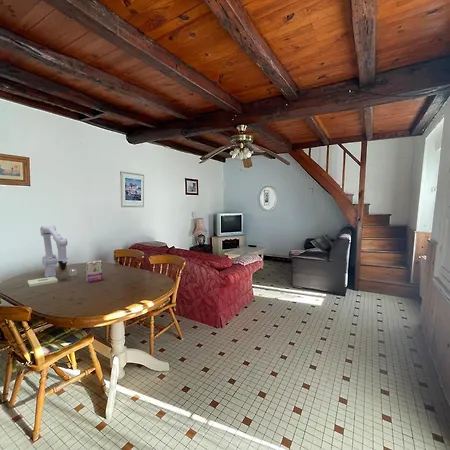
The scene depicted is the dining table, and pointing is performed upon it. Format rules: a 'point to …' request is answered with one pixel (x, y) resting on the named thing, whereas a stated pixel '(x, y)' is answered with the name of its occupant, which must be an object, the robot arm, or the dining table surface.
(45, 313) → the dining table surface
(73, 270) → the grey round peg
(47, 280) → the socket plate
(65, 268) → the walnut bar
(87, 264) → the candy bar box
